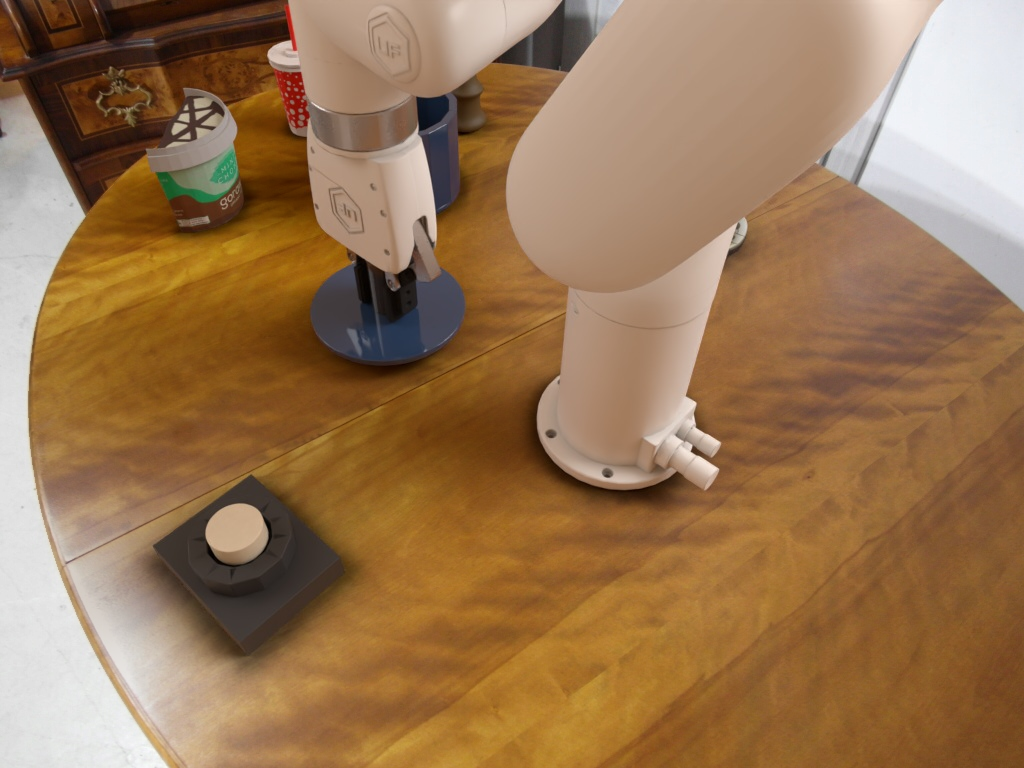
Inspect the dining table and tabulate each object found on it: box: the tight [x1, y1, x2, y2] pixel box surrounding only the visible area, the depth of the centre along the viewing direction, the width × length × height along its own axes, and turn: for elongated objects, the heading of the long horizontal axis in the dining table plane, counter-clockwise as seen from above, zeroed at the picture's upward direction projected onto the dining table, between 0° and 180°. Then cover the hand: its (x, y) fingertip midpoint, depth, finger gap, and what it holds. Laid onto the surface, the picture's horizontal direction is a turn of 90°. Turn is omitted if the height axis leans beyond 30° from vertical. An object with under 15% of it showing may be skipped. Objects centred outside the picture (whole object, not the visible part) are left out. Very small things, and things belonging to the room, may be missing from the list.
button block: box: [152, 474, 346, 657], centre depth 52 cm, size 10×8×4 cm
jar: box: [416, 92, 461, 215], centre depth 80 cm, size 13×13×10 cm
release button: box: [206, 504, 269, 565], centre depth 50 cm, size 4×4×2 cm
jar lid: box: [309, 260, 466, 367], centre depth 67 cm, size 14×14×7 cm
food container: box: [145, 87, 245, 233], centre depth 77 cm, size 12×6×10 cm, turn 179°
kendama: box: [451, 74, 488, 133], centre depth 85 cm, size 6×10×20 cm, turn 44°
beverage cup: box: [267, 3, 310, 138], centre depth 87 cm, size 6×6×14 cm
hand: (388, 302), depth 68 cm, fingers closed on jar lid, 2 cm apart
